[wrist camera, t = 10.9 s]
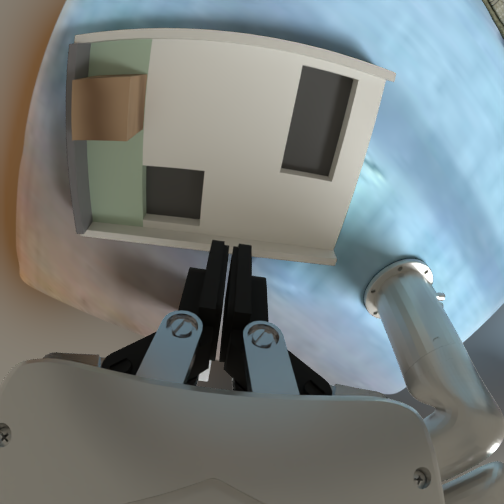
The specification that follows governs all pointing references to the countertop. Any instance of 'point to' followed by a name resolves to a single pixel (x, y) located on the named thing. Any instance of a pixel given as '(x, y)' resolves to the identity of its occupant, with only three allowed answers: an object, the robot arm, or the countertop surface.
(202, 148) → the box
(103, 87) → the block
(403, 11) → the countertop surface
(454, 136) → the countertop surface
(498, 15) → the dish towel
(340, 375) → the countertop surface
